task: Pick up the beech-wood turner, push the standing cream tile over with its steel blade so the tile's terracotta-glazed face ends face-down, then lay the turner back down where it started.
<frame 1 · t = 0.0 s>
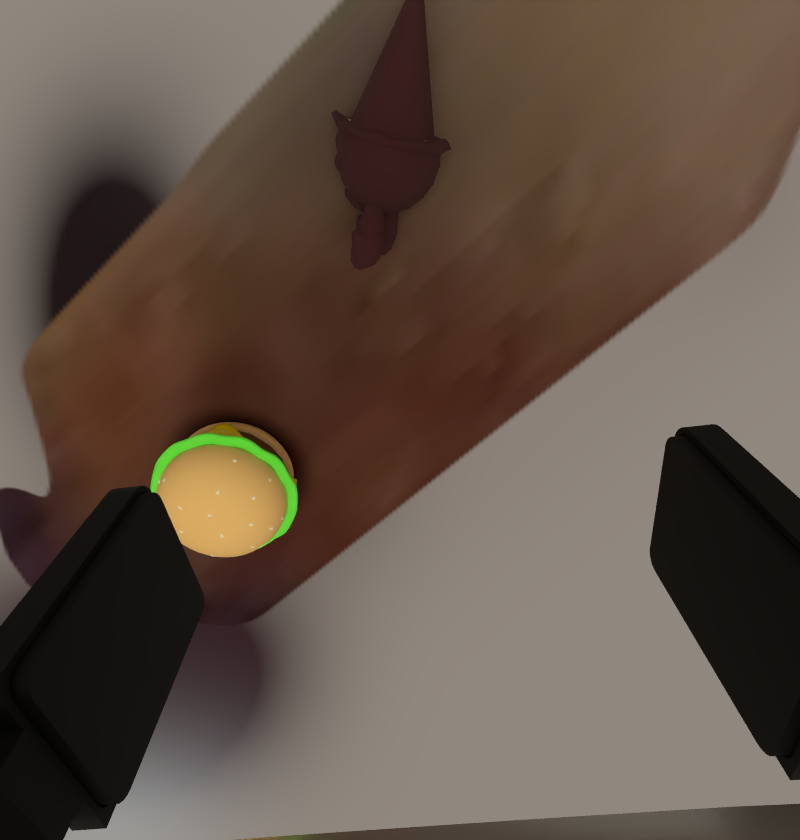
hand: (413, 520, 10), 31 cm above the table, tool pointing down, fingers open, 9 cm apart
icecream: (390, 142, 34), on the table
hamburger: (240, 464, 47), on the table
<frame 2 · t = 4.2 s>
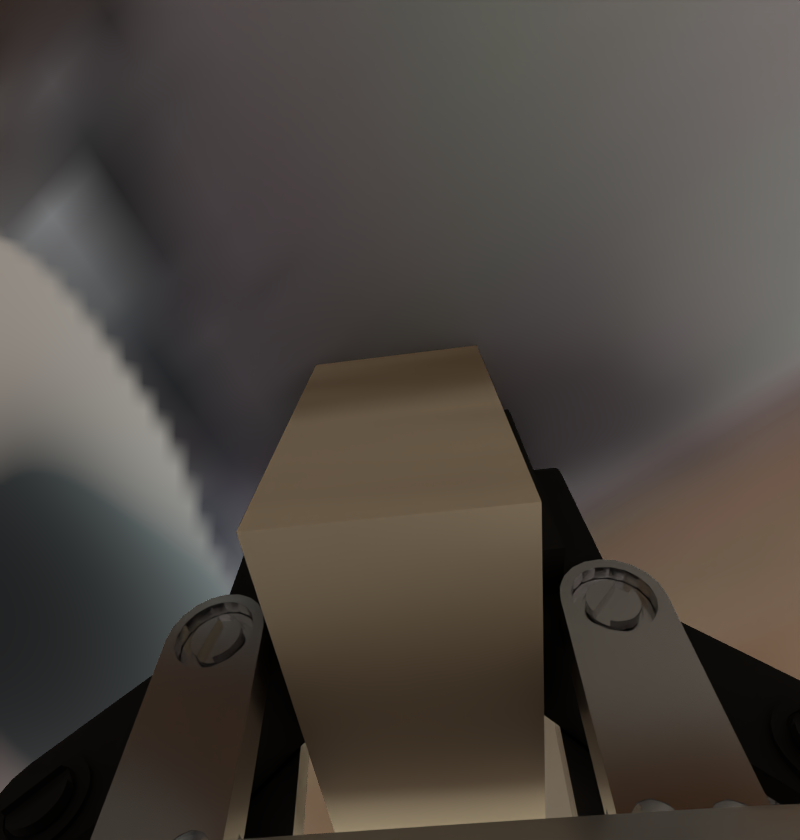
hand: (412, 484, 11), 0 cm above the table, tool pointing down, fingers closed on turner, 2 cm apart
tile: (563, 723, 15), on the table
turner: (414, 490, 11), on the table, touching gripper
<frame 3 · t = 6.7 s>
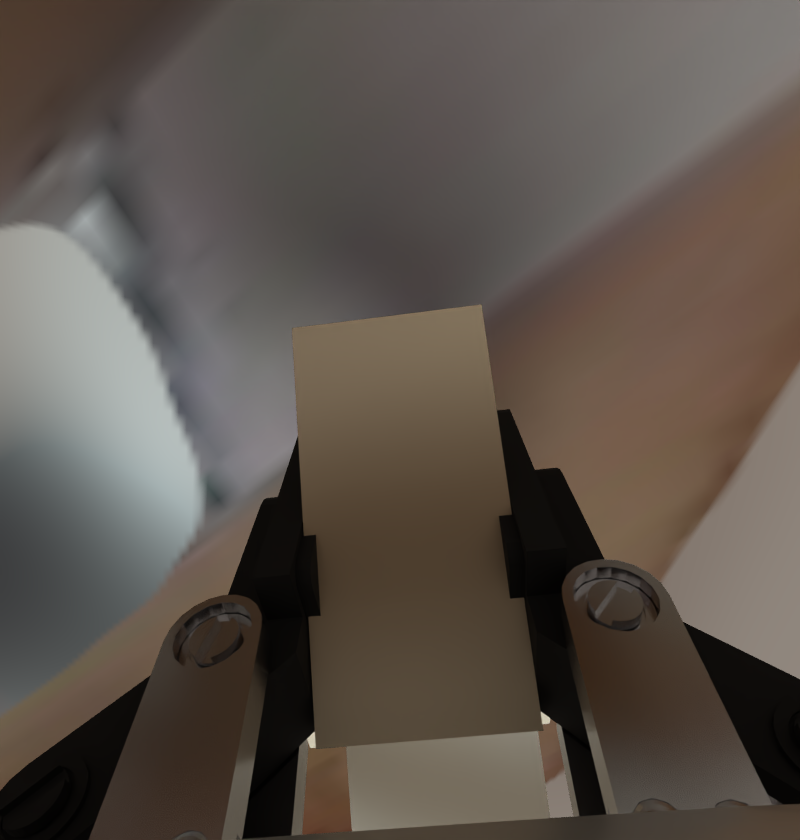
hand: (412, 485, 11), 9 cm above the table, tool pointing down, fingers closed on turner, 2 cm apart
turner: (418, 518, 12), point 8 cm above the table, tilted 43°, touching gripper
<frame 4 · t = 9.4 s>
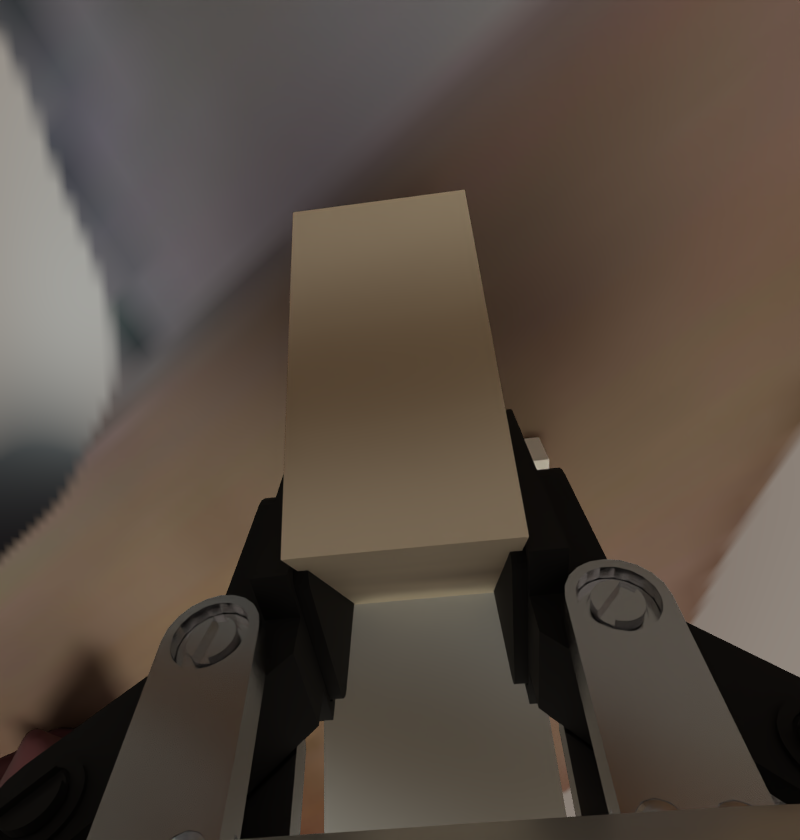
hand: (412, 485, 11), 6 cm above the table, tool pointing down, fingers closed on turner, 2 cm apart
tile: (419, 458, 17), on the table, tilted 90°
turner: (413, 467, 12), point 5 cm above the table, tilted 56°, touching gripper
icecream: (93, 735, 26), on the table
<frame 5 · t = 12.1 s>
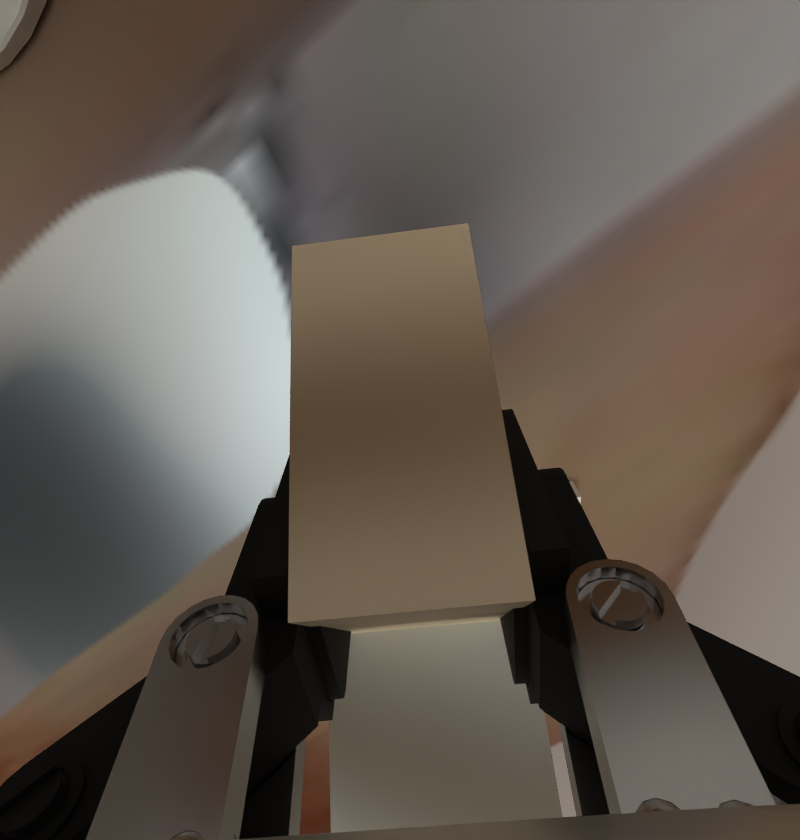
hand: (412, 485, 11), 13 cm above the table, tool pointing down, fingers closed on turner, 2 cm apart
turner: (415, 489, 12), point 12 cm above the table, tilted 54°, touching gripper
when the fingers open (2 cm above the table, at t = 14.2 s): turner stays where it is, on the table.
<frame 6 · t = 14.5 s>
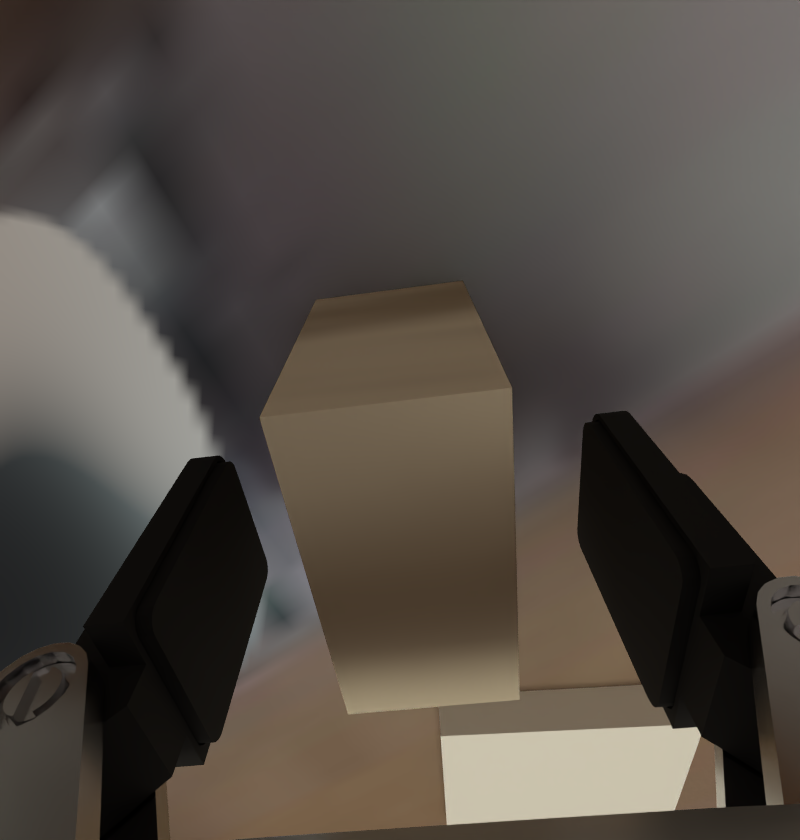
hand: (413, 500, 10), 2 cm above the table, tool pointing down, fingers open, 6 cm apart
tile: (564, 704, 16), on the table, tilted 90°
turner: (406, 418, 12), on the table
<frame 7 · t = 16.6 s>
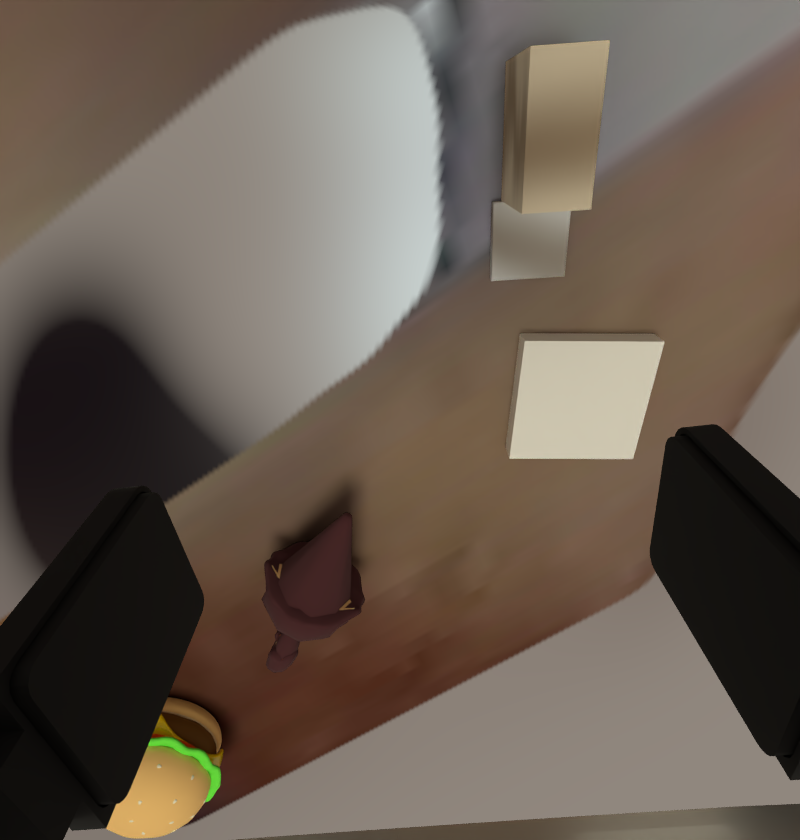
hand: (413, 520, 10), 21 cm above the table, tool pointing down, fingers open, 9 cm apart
tile: (590, 336, 30), on the table, tilted 90°
turner: (533, 133, 25), on the table
icecream: (319, 551, 39), on the table
hamburger: (172, 721, 50), on the table
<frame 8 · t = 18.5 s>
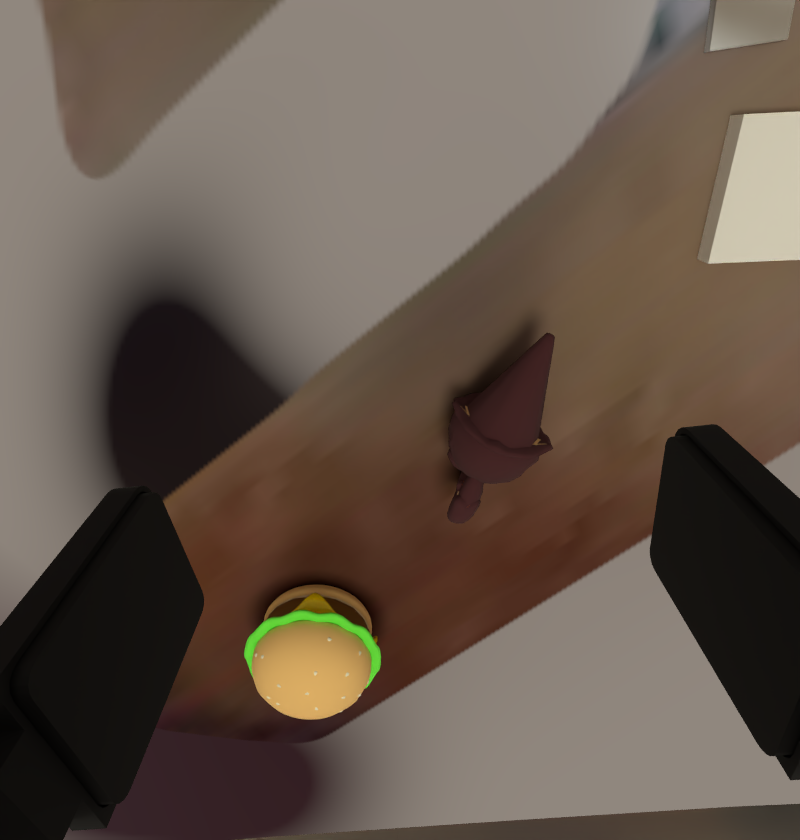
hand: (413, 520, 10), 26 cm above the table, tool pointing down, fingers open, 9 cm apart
icecream: (489, 406, 38), on the table
hamburger: (320, 615, 50), on the table
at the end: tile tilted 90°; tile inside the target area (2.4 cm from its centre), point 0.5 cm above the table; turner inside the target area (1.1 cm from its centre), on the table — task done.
